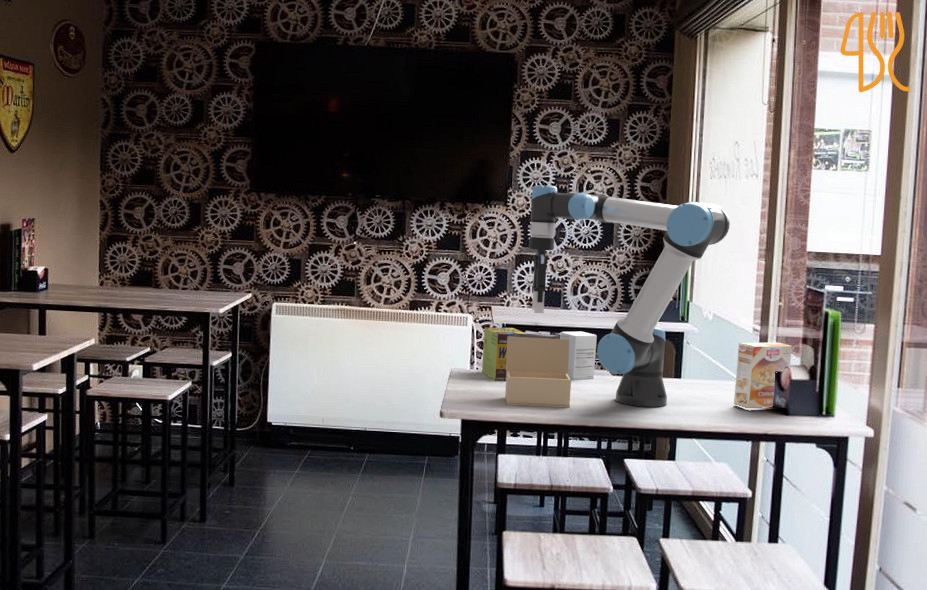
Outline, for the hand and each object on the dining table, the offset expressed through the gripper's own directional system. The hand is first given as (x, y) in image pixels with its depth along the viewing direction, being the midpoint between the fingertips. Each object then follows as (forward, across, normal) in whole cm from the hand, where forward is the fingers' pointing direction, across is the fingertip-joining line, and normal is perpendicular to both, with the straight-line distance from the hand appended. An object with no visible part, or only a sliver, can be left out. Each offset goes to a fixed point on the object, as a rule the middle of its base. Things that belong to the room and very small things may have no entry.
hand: (537, 311), depth 299 cm
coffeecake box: (+25, +7, +68) cm, 73 cm away
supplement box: (+25, -31, +17) cm, 43 cm away
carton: (+25, +15, 0) cm, 29 cm away
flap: (+11, +9, 0) cm, 15 cm away
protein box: (+25, -25, -8) cm, 36 cm away
